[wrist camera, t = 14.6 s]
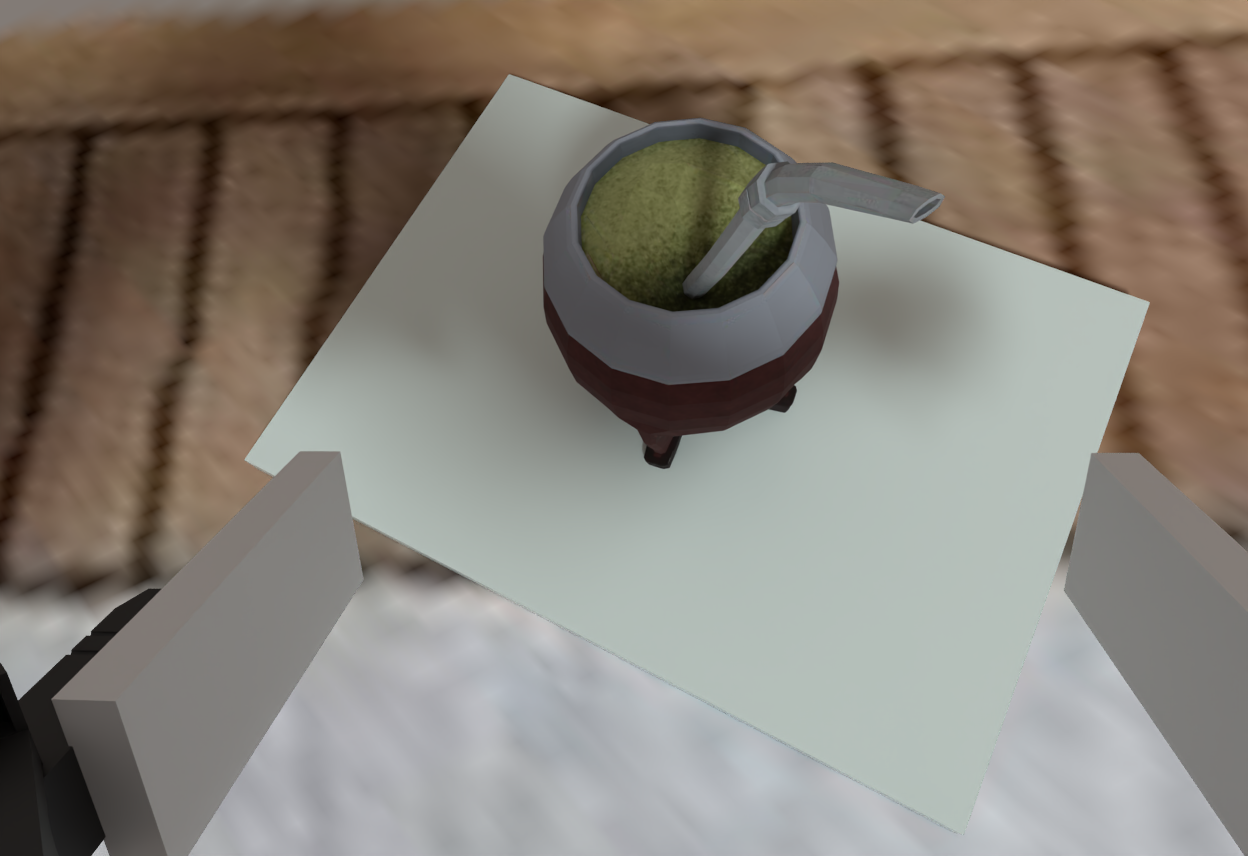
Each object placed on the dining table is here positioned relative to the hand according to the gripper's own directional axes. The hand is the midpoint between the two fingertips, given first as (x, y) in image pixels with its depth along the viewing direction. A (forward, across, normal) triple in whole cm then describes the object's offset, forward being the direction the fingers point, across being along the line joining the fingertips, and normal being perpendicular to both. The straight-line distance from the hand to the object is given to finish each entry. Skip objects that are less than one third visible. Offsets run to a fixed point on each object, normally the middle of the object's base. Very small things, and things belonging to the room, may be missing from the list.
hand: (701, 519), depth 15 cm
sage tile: (+11, 0, -2) cm, 11 cm away
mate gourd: (+11, 0, -2) cm, 11 cm away
